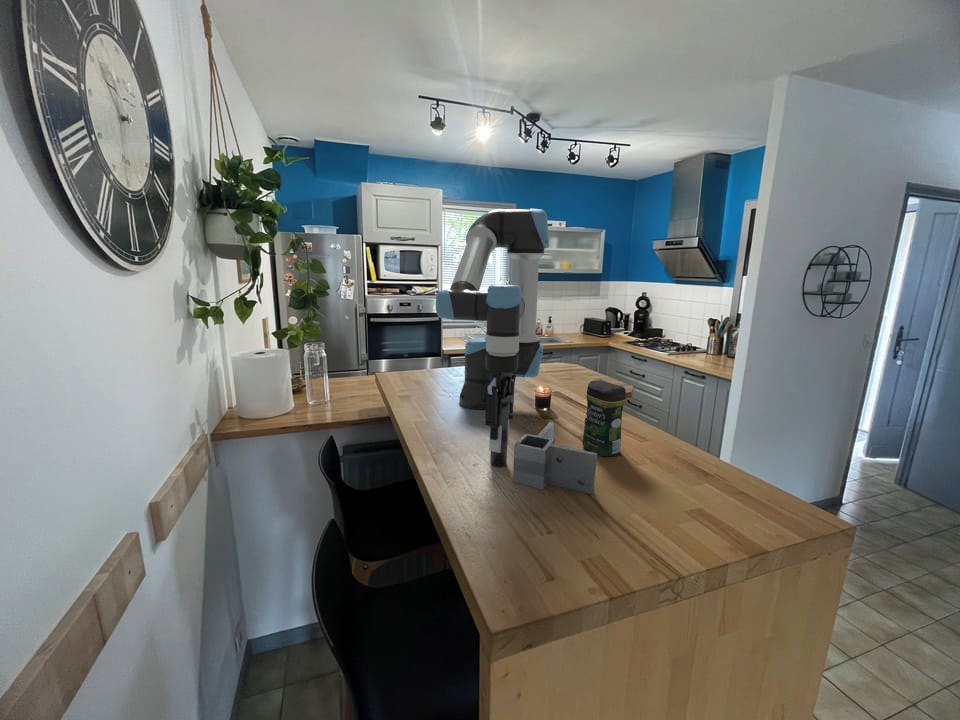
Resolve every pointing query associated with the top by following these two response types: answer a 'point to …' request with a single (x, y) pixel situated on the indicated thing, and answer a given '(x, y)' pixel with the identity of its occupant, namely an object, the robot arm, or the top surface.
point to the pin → (501, 457)
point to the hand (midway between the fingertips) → (498, 447)
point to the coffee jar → (604, 418)
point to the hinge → (552, 463)
